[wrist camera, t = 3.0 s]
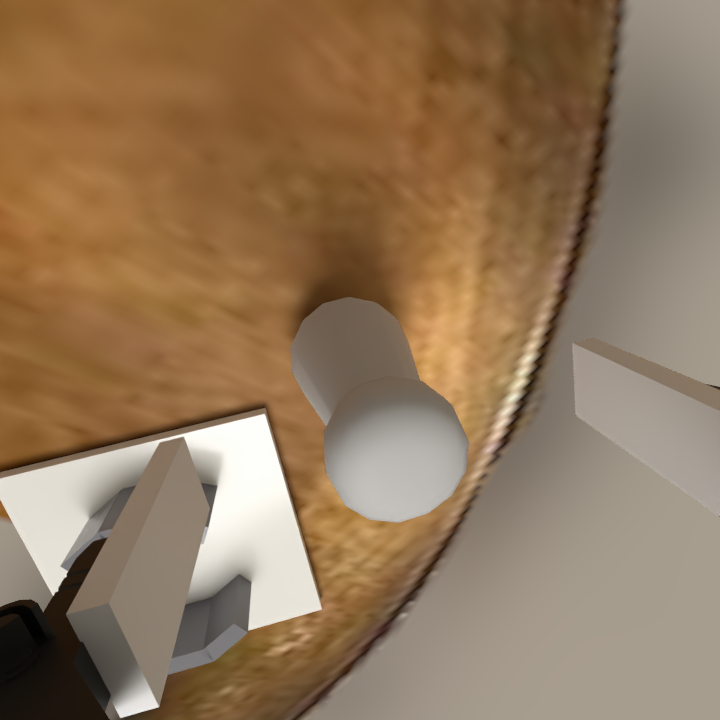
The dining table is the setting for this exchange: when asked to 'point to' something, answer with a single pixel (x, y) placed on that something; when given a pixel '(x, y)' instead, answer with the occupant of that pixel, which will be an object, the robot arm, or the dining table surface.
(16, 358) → the dining table surface
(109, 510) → the square base with blocks
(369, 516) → the salt shaker
